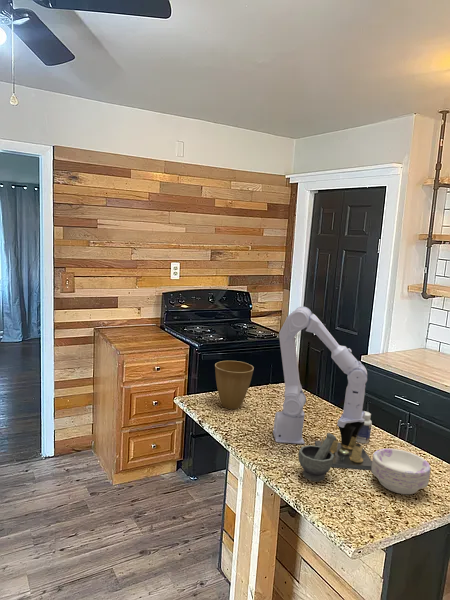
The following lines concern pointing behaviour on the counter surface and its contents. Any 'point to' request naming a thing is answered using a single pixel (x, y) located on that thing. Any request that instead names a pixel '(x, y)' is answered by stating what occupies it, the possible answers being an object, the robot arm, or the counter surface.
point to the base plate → (343, 458)
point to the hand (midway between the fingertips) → (348, 442)
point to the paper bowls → (400, 470)
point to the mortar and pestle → (317, 459)
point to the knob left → (334, 445)
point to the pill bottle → (365, 429)
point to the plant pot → (233, 382)
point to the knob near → (357, 454)
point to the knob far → (351, 444)
